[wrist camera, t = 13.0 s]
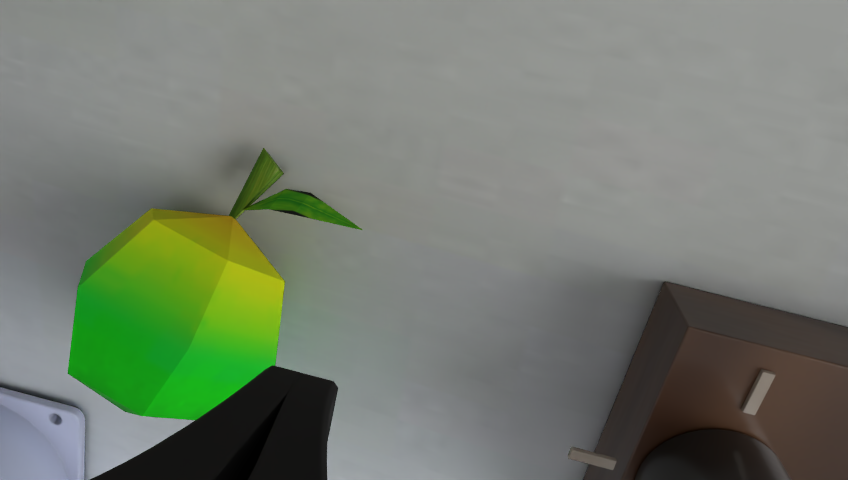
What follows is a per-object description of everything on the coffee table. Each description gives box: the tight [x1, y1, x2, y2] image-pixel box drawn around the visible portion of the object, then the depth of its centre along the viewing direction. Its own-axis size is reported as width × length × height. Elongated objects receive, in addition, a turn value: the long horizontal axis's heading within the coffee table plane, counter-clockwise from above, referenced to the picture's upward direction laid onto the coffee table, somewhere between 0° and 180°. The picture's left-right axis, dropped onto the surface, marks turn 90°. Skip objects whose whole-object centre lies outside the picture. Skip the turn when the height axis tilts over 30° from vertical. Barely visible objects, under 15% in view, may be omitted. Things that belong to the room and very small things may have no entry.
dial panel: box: [568, 282, 848, 480], centre depth 21 cm, size 14×10×3 cm
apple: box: [68, 148, 362, 420], centre depth 19 cm, size 7×6×9 cm
